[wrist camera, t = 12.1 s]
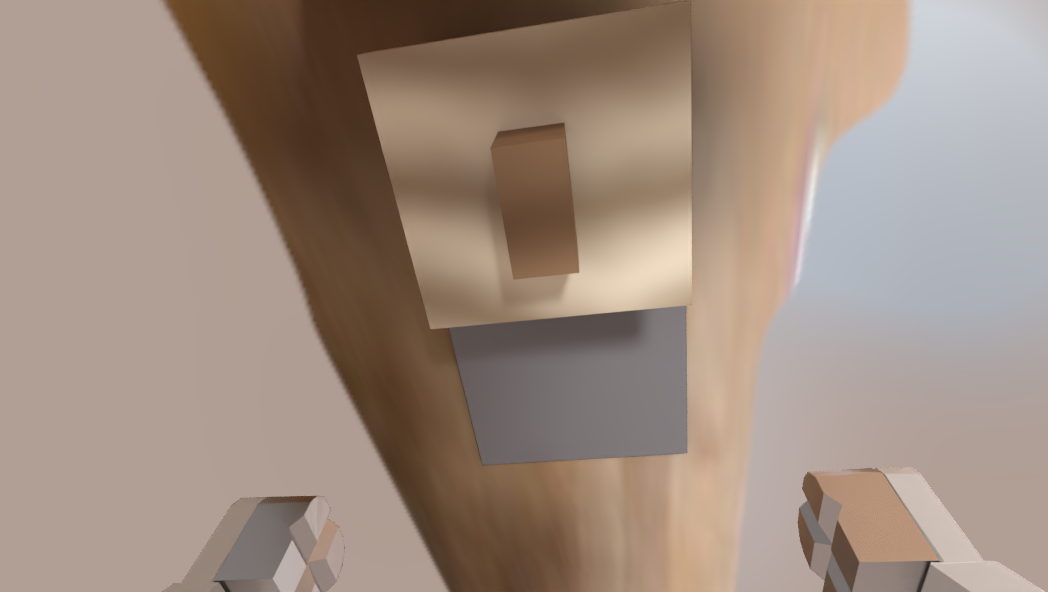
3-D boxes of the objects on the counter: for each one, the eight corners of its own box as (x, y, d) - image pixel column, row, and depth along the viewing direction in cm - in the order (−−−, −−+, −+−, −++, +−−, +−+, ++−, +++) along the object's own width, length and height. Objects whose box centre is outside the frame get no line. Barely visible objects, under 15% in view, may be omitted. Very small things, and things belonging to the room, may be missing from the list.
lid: (364, 52, 25) (331, 62, 21) (686, 0, 23) (708, 1, 19) (434, 319, 31) (417, 361, 28) (688, 295, 29) (705, 336, 26)
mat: (440, 287, 37) (439, 290, 37) (684, 262, 35) (685, 265, 35) (483, 461, 44) (482, 465, 44) (686, 449, 42) (687, 453, 42)
